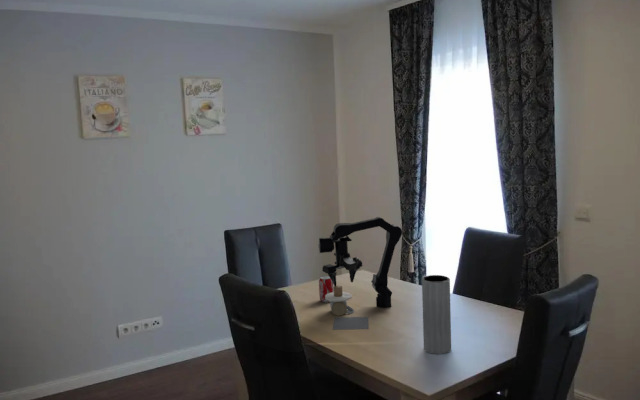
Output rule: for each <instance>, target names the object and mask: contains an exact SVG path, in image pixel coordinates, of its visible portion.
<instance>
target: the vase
mask: <svg viewBox="0 0 640 400" xmlns="http://www.w3.org/2000/svg"><path fill="white" fill-rule="evenodd" d="M421 287H422V288H421V294H422V295H421V296H422V297H421V299H422V300H421V301H422V326H423V327H422V332H423V334H422V335H423V349H424V351H426V352H427V353H429V354H432V353H433V354H434V355H444V353H445V354H448V353H449V352H450V351H452V329H451V328H452V325H451V323H452V322H451V319H452V317H451V314H452V313H451V279H450V277H449V276H446V275H440V274H439V275H438V274H432V275H431V274H429V275H425V276H423V277H422V278H421Z"/></svg>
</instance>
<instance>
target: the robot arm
mask: <svg viewBox="0 0 640 400" xmlns="http://www.w3.org/2000/svg"><path fill="white" fill-rule="evenodd" d="M379 227H380V228H382V229H383V230H384V231H386V233H385V242H386V243H385V246H384V251H383V254H382V258H381V262H380V265H379V268H378V271H377V273H373V275H372V280H371V282H370V283H371V286H372V288H373V290H374V291H375V292H376V293H377V295H376V298H375V303H376V308H381V309H388V308H391V307H392V296H393V295H392V294H393V292H392V291H391V290H390V288H389V287H388V283H389V282H388V279H389V278H388V274H389V270H390V267H391V263H392V259H393V255H394V252H395V248H396V245H397V244H398V243H399V242H400V240H401V237H402V235H403V230H402V228H401V227H399V226H398V225H397V224H391V223H390V222H388V221H386V220H385V219H384V218H383V217H381V216H377V217H374V218H369V219H365V220H364V219H363V220H361V221H357V222H356V221H355V222H338V223H336V224H335V225H334V226H333V231H332V232H331V234H330V235H329V237H319V238H318V251H319V254H323V253H332V252H333V251H334V250H335V251H334V253H333V255H334V256H335V261H334V265H333V264H332V263H329V264H324V265H323V266H322V268H321V269H322V272H323V273H325V274H327V276H329V277H330V278H331V280H332V282H333V287H334V286H337V273H338V272H337V270H339V269H345V270H347V271H348V273H349V279H350V283H354V279H355V276H356V273H357V271H358V270H360V269H361V267H363V262H362V260H360V259H359V257H358V256H355V257H351V254H350V252H349V249H348V245H349V244H348V242H351V241H352V239H351V238H350V237H349V236H350V235H352V234H353V233H355V232H360V231H363V230H369V229H373V228H379ZM352 242H353V241H352ZM392 308H393V307H392Z"/></svg>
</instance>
